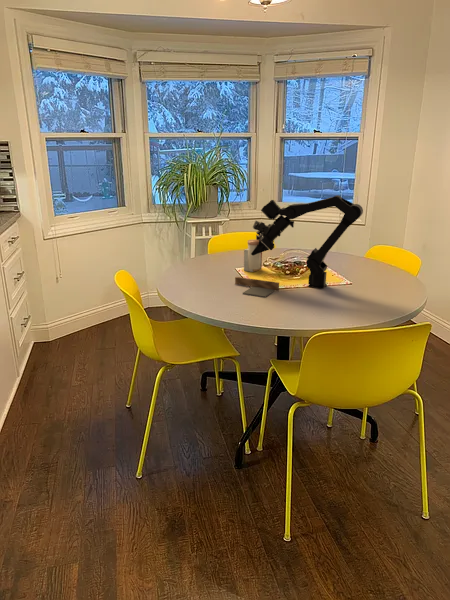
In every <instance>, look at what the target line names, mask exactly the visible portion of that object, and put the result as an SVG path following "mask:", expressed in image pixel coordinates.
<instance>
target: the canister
mask: <svg viewBox="0 0 450 600" xmlns="http://www.w3.org/2000/svg"><path fill="white" fill-rule="evenodd" d="M258 243H259V240H256V239H249V240H247V249H248V269H254V270H255V269H260V265H261V253H258V254H256V255H252V254H251V253H252V252H253V250H254V249H255V248H256V246H257V245H258ZM260 270H261V269H260Z"/></svg>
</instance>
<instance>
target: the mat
mask: <svg viewBox="0 0 450 600" xmlns="http://www.w3.org/2000/svg"><path fill="white" fill-rule="evenodd" d="M273 292H275V290H273V289H266V288H260V287H252V286H250V287H249V288H248V289H246V290H244V291H243V292H242V295H247V296H253V297H260V298H267V297H268V296H269V295H271V294H273Z"/></svg>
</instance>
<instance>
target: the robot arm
mask: <svg viewBox="0 0 450 600" xmlns="http://www.w3.org/2000/svg"><path fill="white" fill-rule="evenodd" d="M332 207H335V208H337V209H338V210H339V211H340V212H341V213H343V216H342V217H341V218H342V219H341V220H340V222H339V223H338V225H337V226H336V227H335V228H334V230H333V231H332V233H331V234H330V235H329V236H328V237H327V239H326V240H325V241H324V242H323V244H322V245H321V246H320V247H319V248H318V249H317V247H315V248H314V249H312V250H311V253H310V254H309V255H308V256H307V257H306V259H307V260H306V262H305V263H306V267H307V268H308V269H309V273H310V274H309V275H308V287H310V288H314V289H315V288H316V289H321V290H322V289H324V288H326V286H327V273H328V272H327V269H328V265H327V263H325V262H324V260H325V259H326V257H327V255H328V253H329V251H331V249H332V248H333V246H334V245H335V244H336V243H337V242H338V240H339V239H340V238H341V237H342V236H343V234H344V233H345V231H347V229H348V228H349V227H350V226H351V225H353V224H354V223H355V222H356V221H358V219H360V217H361V216H362V215H363V213H364V209H363V207H362V205H360V204H359V203H353V202H352V201H349V200H348V199H345V198H344V197H342V196H341V195H339V194H338V195H334V196H331V197H328V198H324V199H319V200H316V201H311V202H308V203H292V204H290V205H288V206H286V207H282V208H281V206H280V205H278V204H277V203H276V201H275V200H274V199H271V200H270V201H268V203H266V204H264V206H263V207H262V208H261V209H260V212H261V213H263V215H265V216H266V218H268V219H269V220H271V221H272V220H273V222H272V223H268V224H267V225H266V223H265V222H262V221H258V220H255V221H254V224H253V226H252V228H253V229H254V230H255V231H256V236H255V240H259V243H258V245H257V246H256V248H255V249H254V250H253V252H252V253H251V254H252V255H256V254H258V253H261V252H262V253H264V252H266V251H272V250H273V249H274V248H275V242H274V241H275V240H276V239H277V237H280V236H281V235H282V233H283V232H284V231H285V230H286V229H287V228H288V227H289V226H290V227H291V228H294V226H295V220H294V219H296V218H299V217H302V216H303V215H305V214H308V213H313V212H316V211H320V210H323V209H325V210H326V209H329V208H332Z"/></svg>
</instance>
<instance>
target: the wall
mask: <svg viewBox="0 0 450 600" xmlns="http://www.w3.org/2000/svg"><path fill="white" fill-rule="evenodd" d="M234 285H239V286H247V287H260V288H266V289H273V290H274V291H279V290H280V282H276V281H269V280H264V279H263V280H262V279H256V278H255V279H254V278H247V277H241V276H235V278H234Z"/></svg>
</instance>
